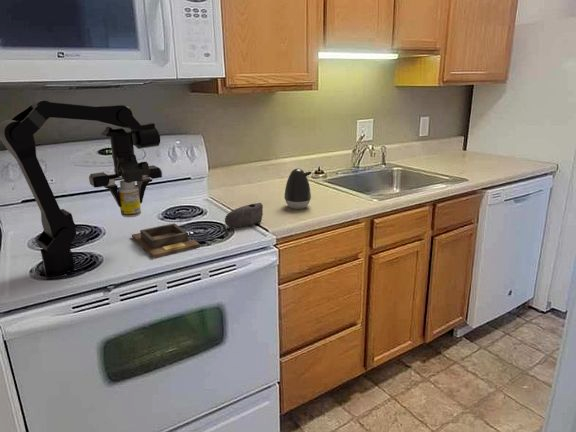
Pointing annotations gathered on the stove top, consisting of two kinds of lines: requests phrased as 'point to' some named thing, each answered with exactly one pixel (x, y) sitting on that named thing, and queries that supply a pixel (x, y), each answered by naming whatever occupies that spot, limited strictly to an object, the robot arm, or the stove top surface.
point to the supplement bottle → (129, 199)
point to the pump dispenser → (297, 189)
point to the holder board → (164, 240)
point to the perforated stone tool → (245, 215)
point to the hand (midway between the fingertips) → (130, 204)
